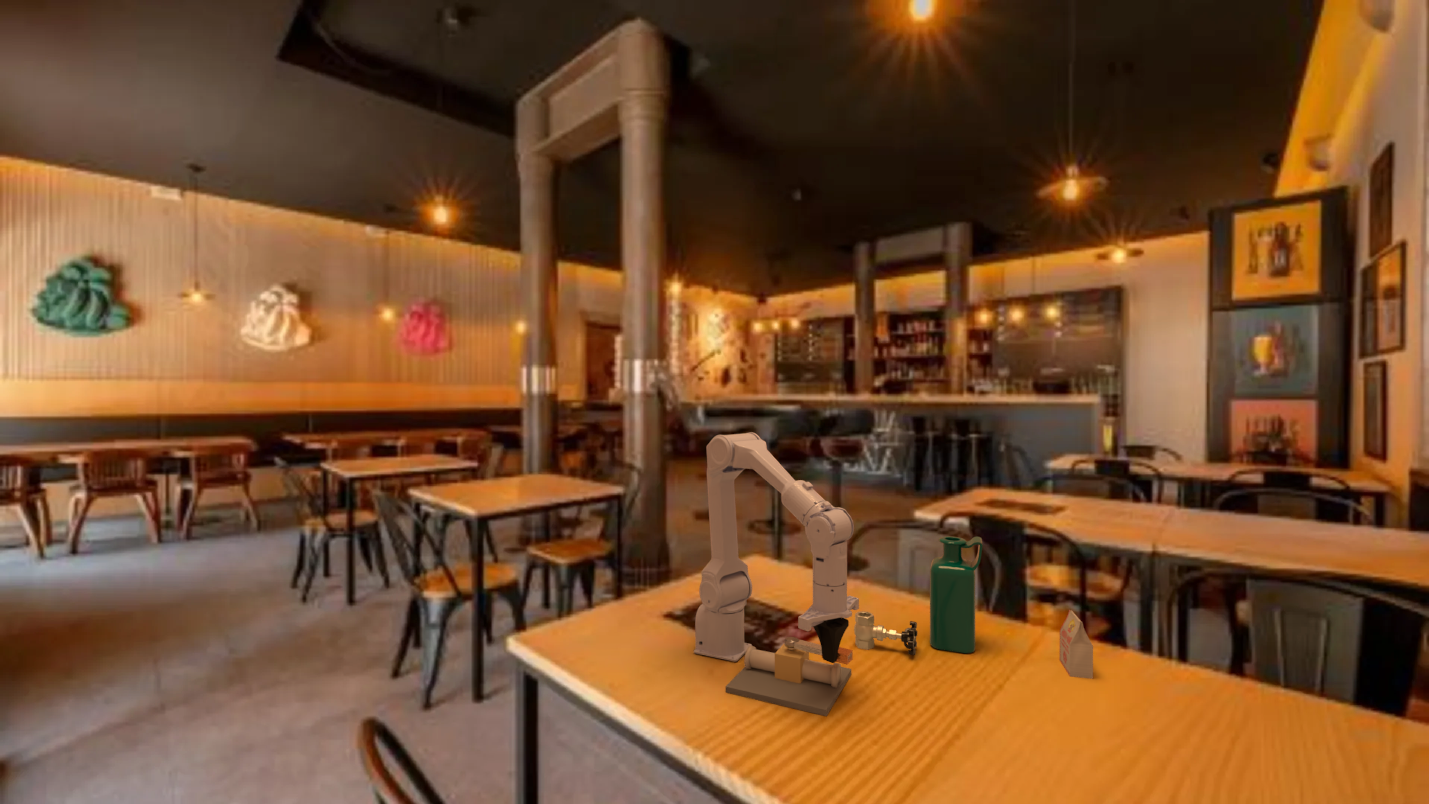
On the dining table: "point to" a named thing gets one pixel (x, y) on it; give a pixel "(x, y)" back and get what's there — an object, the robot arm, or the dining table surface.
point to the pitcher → (953, 596)
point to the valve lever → (817, 649)
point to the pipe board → (789, 680)
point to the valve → (881, 633)
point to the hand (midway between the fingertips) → (829, 660)
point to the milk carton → (1076, 648)
